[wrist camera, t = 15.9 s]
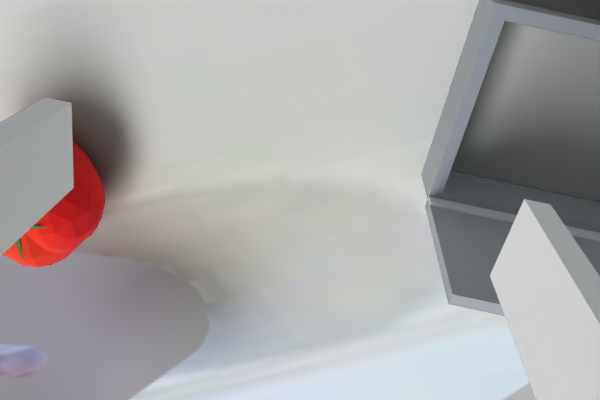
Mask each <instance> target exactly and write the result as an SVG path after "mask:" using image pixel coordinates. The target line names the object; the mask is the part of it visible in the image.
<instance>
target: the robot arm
mask: <svg viewBox="0 0 600 400" xmlns="http://www.w3.org/2000/svg"><path fill="white" fill-rule="evenodd" d="M73 188H74V180H73V137H72V103H70V102H65V101H61V100H56V99H51V98H46V97H45V98H43V99H41V100H39V101H38V102H36V103H34V104H32V105H31V106H29V107H27V108H25V109H23V110H22V111H20V112H18V113H16V114H15V115H13V116H11V117H9V118H7V119H6V120H4V121H2V122H0V256H1V255H2V254H4V253H5V252H6V251H7V250H8V249H9V248H10V247H11V246H12V245H13V244H14V243H15V242H16V241H17V240H18V239H20V238H21V237H22V236H23V235H24V234H25V233H26V232H27V231H28V230H29V229H30V228H31V227H32V226H33V225H34V224H36V223H37V222H38V221H39V220H40V219H41V218H42V217H43V216H44V215H45V214H46V213H47V212H48V211H49V210H50V209H52V208H53V207H54V206H55V205H56V204H57V203H58V202H59V201H60V200H61V199H62V198H63V197H64V196H65V195H66V194H67V193H69V192H70V191H71V190H72V189H73ZM490 278H491V280H492V283H493V286H494V288H495V291H496V294H497V296H498V299H499V302H500V304H501V307H502V310H503V312H504V315H505V318H506V320H507V323H508V326H509V328H510V331H511V334H512V336H513V339H514V342H515V344H516V347H517V350H518V352H519V355H520V358H521V360H522V363H523V366H524V368H525V371H526V374H527V376H528V379H529V382H530V384H531V387H532V390H533V392H534V395H535V398H536V400H600V276H599V274H598V273H597V272H596V270H595V269H594V267H593V266H592V264H591V263H590V261H589V260H588V258H587V257H586V255H585V254H584V253H583V251H582V250H581V248H580V247H579V245H578V244H577V242H576V241H575V239H574V238H573V237H572V235H571V234H570V232H569V231H568V229H567V228H566V226H565V225H564V223H563V222H562V220H561V219H560V218H559V216H558V215H557V213H556V212H555V210H554V209H553V207H552V206H551V204H546V203H541V202H537V201H532V200H527V199H524V200H523V203H522V205H521V207H520V209H519V212H518V214H517V216H516V218H515V221H514V223H513V225H512V227H511V229H510V232H509V234H508V236H507V238H506V241H505V243H504V245H503V247H502V250H501V252H500V254H499V256H498V259H497V261H496V263H495V265H494V267H493V270H492V272H491V274H490Z"/></svg>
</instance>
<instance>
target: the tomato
mask: <svg viewBox="0 0 600 400" xmlns="http://www.w3.org/2000/svg"><path fill="white" fill-rule="evenodd" d="M73 180H74V188H73V189H72V190H71V191H70V192H69V193H67V194H66V195H65V196H64V197H63V198H62V199H61V200H60V201H59V202H58V203H57V204H56V205H55V206H54V207H53V208H52V209H50V210H49V211H48V212H47V213H46V214H45V215H44V216H43V217H42V218H41V219H40V220H39V221H38V222H37V223H36V224H34V225H33V226H32V227H31V228H30V229H29V230H28V231H27V232H26V233H25V234H24V235H23V236H22V237H21V238H20V239H18V240H17V241H16V242H15V243H14V244H13V245H12V246H11V247H10V248H9V249H8V250H7V251H6V252H5V253H4V254H3V255H5V256H7V257H9V258H11V259H12V260H14V261H16V262H18V263H19V264H21V265H24V266H32V267H42V266H47V265H52V264H54V263H56V262H58V261H61V260H63V259H65V258H66V257H67V256H68V255H69V254H70V253H71V252H72V251H73V250H74V249H75V248H76V247H77V246H79V245H80V244H81V243H82V242H83V241H84V240H85V239H87V238H88V237H89V236H91V235H92V234H93V232H94V231H95V229H96V228H97V226H98V224H99V222H100V220H101V218H102V213H103V209H104V205H105V195H104V190H103V185H102V181H101V179H100V177H99V176H98V174H97V172H96V170H95V168H94V166H93V164H92V163H91V161H90V159H89V157H88V156H87V155H86V154H85V153H84V152H83V151H82V150H81V149H80V148H79V146H78V145H77V144H76V143H75V142H74V141H73Z"/></svg>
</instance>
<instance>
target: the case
mask: <svg viewBox="0 0 600 400" xmlns="http://www.w3.org/2000/svg"><path fill="white" fill-rule="evenodd" d="M504 21H508V22H512V23H517V24H522V25H526V26H531V27H536V28H541V29H545V30H550V31H555V32H559V33H564V34H569V35H573V36H578V37H583V38H587V39H592V40H597V41H600V20H598V19H593V18H588V17H584V16H579V15H574V14H570V13H565V12H560V11H556V10H551V9H546V8H541V7H537V6H532V5H527V4H523V3H518V2H513V1H509V0H479V3H478V6H477V9H476V12H475V15H474V18H473V21H472V24H471V27H470V30H469V33H468V36H467V39H466V42H465V45H464V48H463V51H462V54H461V57H460V60H459V63H458V66H457V69H456V72H455V75H454V78H453V81H452V84H451V87H450V90H449V93H448V96H447V99H446V102H445V105H444V108H443V111H442V114H441V117H440V120H439V123H438V126H437V129H436V132H435V135H434V138H433V141H432V144H431V147H430V150H429V153H428V156H427V159H426V162H425V165H424V168H423V171H422V174H421V175H422V179H423V183H424V187H425V191H426V195H427V198H428V200H427V203H426V206H425V212H426V216H428V220H429V224H430V228H431V232H432V237H433V241H434V245H435V249H436V253H437V258H438V262H439V266H440V270H441V274H442V278H443V283H444V287H445V291H446V295H447V299H448V303H449V304H450V305H455V306H460V307H465V308H469V309H474V310H479V311H484V312H488V313H493V314H498V315H503V316H505V315H504V312H503V310H502V307H501V304H500V302H499V299H498V296H497V294H496V291H495V288H494V286H493V283H492V280H491V278H490V274H491V272H492V270H493V267H494V265H495V263H496V261H497V259H498V256H499V254H500V252H501V250H502V247H503V245H504V243H505V241H506V238H507V236H508V234H509V232H510V229H511V227H512V225H513V223H514V221H515V218H516V216H517V214H518V212H519V209H520V207H521V205H522V203H523V200H524V199H527V200H532V201H537V202H541V203H546V204H551V206H552V207H553V209H554V210H555V212H556V213H557V215H558V216H559V218H560V219H561V220H562V222H563V223H564V225H565V226H566V228H567V229H568V231H569V232H570V234H571V235H572V237H573V238H574V239H575V241H576V242H577V244H578V245H579V247H580V248H581V250H582V251H583V253H584V254H585V255H586V257H587V258H588V260H589V261H590V263H591V264H592V266H593V267H594V269H595V270H596V272H597V273H598V274H599V276H600V202H597V201H592V200H587V199H582V198H578V197H573V196H568V195H564V194H559V193H554V192H549V191H545V190H540V189H535V188H531V187H526V186H521V185H516V184H512V183H507V182H502V181H498V180H493V179H488V178H483V177H479V176H474V175H469V174H465V173H460V172H455V171H451V168H452V165H453V163H454V160H455V157H456V154H457V152H458V149H459V146H460V143H461V141H462V138H463V135H464V132H465V129H466V127H467V124H468V121H469V118H470V116H471V113H472V110H473V107H474V104H475V102H476V99H477V96H478V93H479V91H480V88H481V85H482V82H483V79H484V77H485V74H486V71H487V68H488V66H489V63H490V60H491V57H492V55H493V52H494V49H495V46H496V43H497V41H498V38H499V35H500V32H501V30H502V27H503V24H504Z"/></svg>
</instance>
